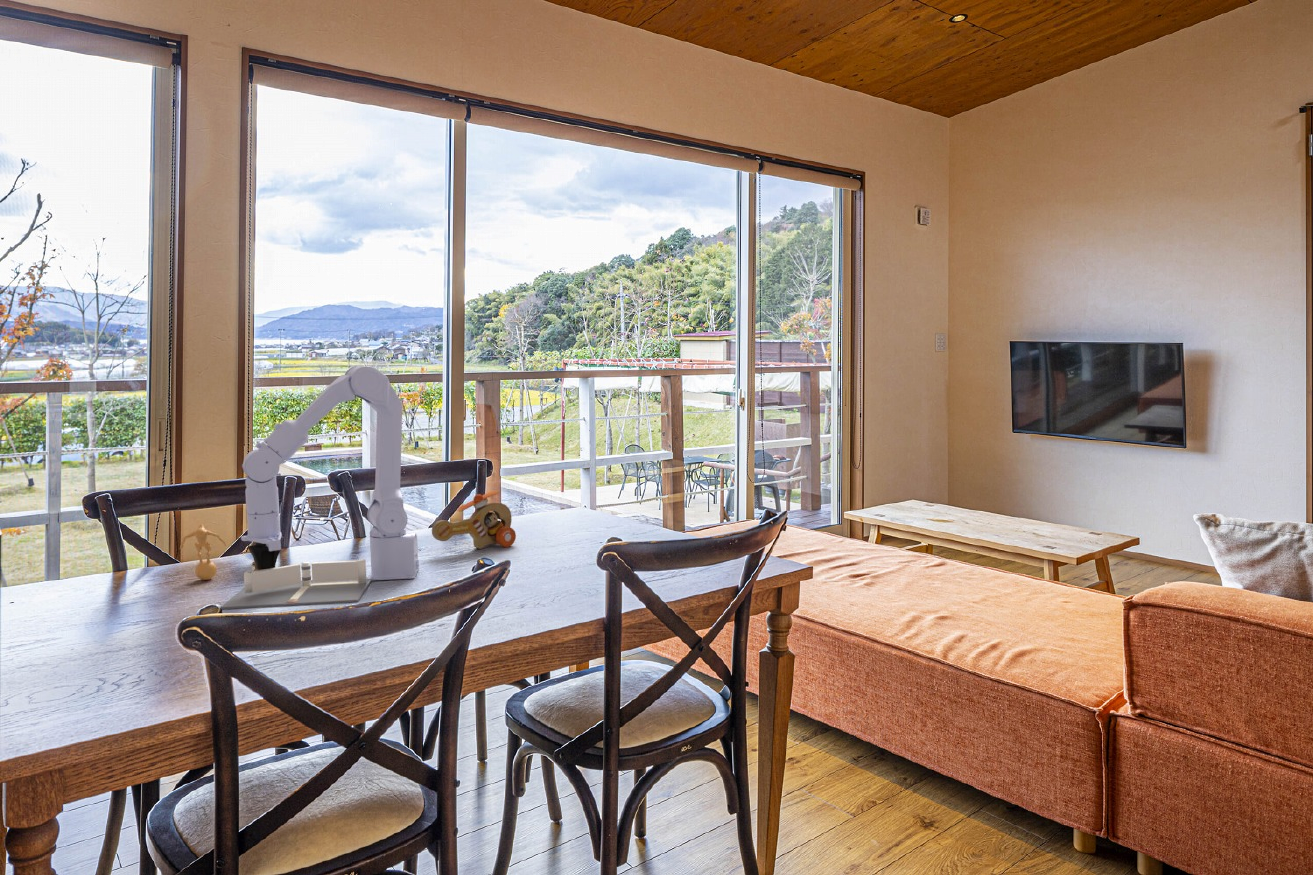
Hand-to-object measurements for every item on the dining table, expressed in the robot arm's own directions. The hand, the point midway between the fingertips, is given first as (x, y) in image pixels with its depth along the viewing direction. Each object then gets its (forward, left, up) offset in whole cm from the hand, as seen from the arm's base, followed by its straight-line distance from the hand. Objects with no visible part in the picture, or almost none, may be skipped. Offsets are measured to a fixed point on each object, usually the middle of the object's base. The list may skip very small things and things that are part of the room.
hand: (266, 580), depth 160 cm
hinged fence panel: (-1, +1, -1) cm, 2 cm away
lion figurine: (+7, -22, -3) cm, 23 cm away
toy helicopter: (-39, -29, -3) cm, 49 cm away
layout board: (-7, +2, -2) cm, 7 cm away
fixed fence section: (-12, -2, -2) cm, 12 cm away
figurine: (+15, -11, -3) cm, 19 cm away
